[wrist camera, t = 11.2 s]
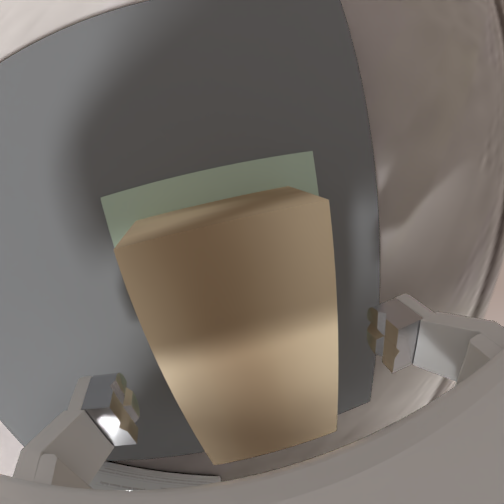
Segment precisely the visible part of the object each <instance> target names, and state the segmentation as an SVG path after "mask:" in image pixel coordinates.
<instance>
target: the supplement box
mask: <svg viewBox="0 0 504 504" xmlns="http://www.w3.org/2000/svg"><path fill="white" fill-rule="evenodd" d="M217 482H221V477H220V476H202V475H188V474H178V473H169V472H161V471H154V470H147V469H142V468H136V467H130V466H125V465H120V464H115V463H111V462H107V461H105V462H104V463H103V465H102V466H101V468H100V469H99V471H98V472H97V474H96V475H95V477H94V478H93V480H92V481H91V483H90V484H89V486H90V487H92V488H93V489H98V490H153V489H168V488H179V487H188V486H197V485H204V484H211V483H217Z"/></svg>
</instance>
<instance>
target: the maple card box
mask: <svg viewBox="0 0 504 504" xmlns="http://www.w3.org/2000/svg"><path fill="white" fill-rule="evenodd" d="M113 250H114V253H115V256H116V259H117V262H118V265H119V268H120V271H121V274H122V277H123V280H124V283H125V286H126V288H127V291H128V294H129V296H130V299H131V302H132V304H133V307H134V309H135V312H136V314H137V317H138V319H139V322H140V324H141V327H142V329H143V331H144V334H145V336H146V338H147V341H148V343H149V345H150V348H151V350H152V352H153V354H154V356H155V359H156V361H157V363H158V365H159V367H160V369H161V371H162V374H163V376H164V378H165V380H166V382H167V384H168V386H169V388H170V390H171V392H172V394H173V396H174V397H175V399H176V401H177V403H178V405H179V407H180V409H181V411H182V412H183V414H184V416H185V418H186V420H187V422H188V423H189V425H190V427H191V429H192V430H193V432H194V434H195V435H196V437H197V439H198V441H199V442H200V444H201V446H202V447H203V449H204V450H205V452H206V454H207V455H208V457H209V458H210V460H211V462H212V463H213V465H219V464H224V463H230V462H234V461H239V460H244V459H248V458H252V457H256V456H260V455H264V454H268V453H272V452H275V451H279V450H282V449H286V448H289V447H292V446H295V445H299V444H302V443H305V442H308V441H311V440H314V439H316V438H319V437H322V436H325V435H327V434H330V433H333V432H335V431H337V411H338V314H337V291H336V273H335V259H334V246H333V234H332V224H331V214H330V205H329V200H328V199H325V198H323V197H320V196H317V195H314V194H311V193H308V192H305V191H302V190H299V189H296V188H293V187H290V186H286V187H280V188H275V189H270V190H265V191H260V192H255V193H250V194H246V195H241V196H236V197H232V198H227V199H222V200H218V201H214V202H209V203H205V204H200V205H196V206H192V207H188V208H184V209H180V210H175V211H171V212H167V213H163V214H160V215H156V216H152V217H148V218H144V219H140V220H137V221H135V222H134V224H133V225H132V226H131V227H130V229H129V230H128V231H127V233H126V234H125V235H124V236H123V238H122V239H121V240H120V242H119V243H118V244H117V245H116V247H115V248H114V249H113Z"/></svg>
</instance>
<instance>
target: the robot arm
mask: <svg viewBox="0 0 504 504" xmlns="http://www.w3.org/2000/svg"><path fill="white" fill-rule="evenodd" d="M367 319H368V320H369V321H370V322H371V323H370V325H369V327H368V328H367V341H368V344H369V346H370V348H371V350H372V351H373V352H374V353H375V354H376V355H379V356H382V362H383V364H384V365H385V366H386V367H387V368H388V369H389V370H390V371H391V372H392V373H394V372H397V371H399V370H401V369H403V368H405V367H407V366H409V365H411V364H413V365H414V366H417V367H419V368H422V369H424V370H427V371H429V372H432V373H435V374H437V375H440V376H443V377H445V378H448V379H451V380H453V381H456V385H455V387H453V388H452V389H450V390H449V391H447V392H446V393H444V394H443V395H441V396H440V397H438V398H437V399H435V400H433V401H432V402H430V403H428V404H427V405H425V406H423V407H422V408H420V409H418V410H417V411H415V412H413V413H411V414H410V415H408V416H406V417H404V418H402V419H401V420H399V421H397V422H395V423H393V424H391V425H389V426H387V427H385V428H383V429H381V430H379V431H377V432H375V433H373V434H371V435H368V436H366V437H364V438H362V439H360V440H357V441H355V442H353V443H350V444H348V445H346V446H343V447H341V448H338V449H336V450H333V451H331V452H328V453H325V454H322V455H320V456H317V457H314V458H311V459H308V460H305V461H302V462H299V463H296V464H293V465H290V466H286V467H283V468H279V469H276V470H272V471H268V472H264V473H260V474H256V475H252V476H248V477H243V478H238V479H233V480H228V481H223V482H217V483H211V484H204V485H197V486H188V487H179V488H168V489H153V490H98V489H93V488H92V487H90V486H89V484H90V483H91V481H92V480H93V478H94V477H95V475H96V474H97V472H98V471H99V469H100V468H101V466H102V465H103V463H104V462H105V460H106V459H107V457H108V456H109V454H110V453H111V451H112V450H113V449H114V446H121V445H132V444H137V438H138V427H137V426H136V424H135V422H136V421H137V420H138V419H139V415H140V410H139V403H138V401H137V398H136V396H135V394H134V392H133V391H131V390H130V389H128V388H126V386H127V380H126V379H125V377H124V376H123V374H121V373H112V374H104V375H94V376H87V377H81V378H79V379H78V382H77V384H76V387H75V390H74V393H73V395H72V398H71V401H70V404H69V407H68V410H67V411H63V412H62V413H61V414H60V415H59V416H58V417H56V418H55V419H54V420H53V421H52V422H51V423H50V424H49V425H48V426H47V427H46V428H44V429H43V430H42V431H41V432H40V433H39V434H38V435H37V436H36V437H35V438H34V439H33V440H31V441H30V442H29V443H28V444H27V445H26V446H25V447H24V448H23V449H22V450H21V453H20V456H19V459H18V462H17V465H16V468H15V471H14V475H13V477H10V476H6V475H2V474H0V504H504V327H503V326H501V325H500V324H498V323H497V322H495V321H491V320H485V319H479V318H473V317H467V316H461V315H455V314H449V313H444V312H436V313H434V312H433V311H431V310H430V309H429V308H427V307H426V306H424V305H423V304H422V303H420V302H419V301H417V300H416V299H415V298H413V297H412V296H410V295H409V294H405V293H404V294H402V295H400V296H397V297H395V298H393V299H391V300H389V301H386V302H384V303H381V304H378V305H376V306H373V307H371V308H369V309H368V312H367Z"/></svg>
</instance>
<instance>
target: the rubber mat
mask: <svg viewBox="0 0 504 504" xmlns="http://www.w3.org/2000/svg"><path fill="white" fill-rule="evenodd" d="M286 186H290V187H293V188H296V189H299V190H302V191H305V192H308V193H311V194H314V195H317V196H320V197H323V198H325V199H328V200H329V205H330V214H331V224H332V234H333V246H334V259H335V273H336V291H337V314H338V411H337V415H338V414H341V413H343V412H346V411H348V410H351V409H353V408H356V407H358V406H360V405H363V404H365V403H367V402H369V401H370V397H371V390H372V383H373V375H374V366H375V356H376V354H375V353H374V352H373V351H372V350H371V348H370V346H369V344H368V341H367V328H368V327H369V325H370V323H371V322H370V321H369V320H368V319H367V312H368V309H369V308H371V307H373V306H376V305H378V304H379V292H380V239H379V214H378V198H377V185H376V174H375V164H374V155H373V147H372V140H371V132H370V126H369V119H368V113H367V107H366V102H365V96H364V91H363V86H362V81H361V76H360V72H359V67H358V63H357V58H356V54H355V50H354V46H353V42H352V39H351V35H350V31H349V28H348V24H347V21H346V17H345V14H344V11H343V8H342V4H341V1H340V0H149V1H145V2H141V3H137V4H133V5H130V6H126V7H123V8H119V9H116V10H113V11H110V12H107V13H104V14H101V15H98V16H95V17H92V18H90V19H87V20H84V21H82V22H79V23H77V24H74V25H72V26H69V27H67V28H65V29H62V30H60V31H58V32H56V33H54V34H52V35H49V36H47V37H45V38H43V39H41V40H39V41H37V42H35V43H34V44H32V45H30V46H28V47H26V48H24V49H22V50H21V51H19V52H17V53H15V54H14V55H12V56H10V57H9V58H7V59H5V60H4V61H2V62H1V63H0V420H1V422H2V423H3V424H4V425H5V426H6V427H7V429H8V430H9V431H10V432H11V433H12V434H13V435H14V436H15V437H16V439H17V440H18V441H19V442H20V443H21V444H22V445H23V446H24V447H25V446H26V445H27V444H28V443H29V442H30V441H31V440H33V439H34V438H35V437H36V436H37V435H38V434H39V433H40V432H41V431H42V430H43V429H44V428H46V427H47V426H48V425H49V424H50V423H51V422H52V421H53V420H54V419H55V418H56V417H58V416H59V415H60V414H61V413H62V412H63V411H67V410H68V407H69V404H70V401H71V398H72V395H73V393H74V390H75V387H76V384H77V382H78V379H79V378H81V377H87V376H94V375H104V374H112V373H121V374H123V376H124V377H125V379H126V380H127V386H126V388H128V389H130V390H131V391H133V392H134V394H135V396H136V398H137V401H138V403H139V410H140V415H139V419H138V420H137V421H136V422H135V424H136V426H137V427H138V438H137V444H132V445H121V446H114V449H113V450H112V451H111V453H110V454H109V456H108V457H107V459H106V460H105V461H119V460H140V459H153V458H163V457H172V456H180V455H187V454H194V453H200V452H205V450H204V449H203V447H202V446H201V444H200V442H199V441H198V439H197V437H196V435H195V434H194V432H193V430H192V429H191V427H190V425H189V423H188V422H187V420H186V418H185V416H184V414H183V412H182V411H181V409H180V407H179V405H178V403H177V401H176V399H175V397H174V396H173V394H172V392H171V390H170V388H169V386H168V384H167V382H166V380H165V378H164V376H163V374H162V371H161V369H160V367H159V365H158V363H157V361H156V359H155V356H154V354H153V352H152V350H151V348H150V345H149V343H148V341H147V338H146V336H145V334H144V331H143V329H142V327H141V324H140V322H139V319H138V317H137V314H136V312H135V309H134V307H133V304H132V302H131V299H130V296H129V294H128V291H127V288H126V286H125V283H124V280H123V277H122V274H121V271H120V268H119V265H118V262H117V259H116V256H115V253H114V250H113V249H114V248H115V247H116V245H117V244H118V243H119V242H120V240H121V239H122V238H123V236H124V235H125V234H126V233H127V231H128V230H129V229H130V227H131V226H132V225H133V224H134V222H135V221H137V220H140V219H144V218H148V217H152V216H156V215H160V214H163V213H167V212H171V211H175V210H180V209H184V208H188V207H192V206H196V205H200V204H205V203H209V202H214V201H218V200H222V199H227V198H232V197H236V196H241V195H246V194H250V193H255V192H260V191H265V190H270V189H275V188H280V187H286Z"/></svg>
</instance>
